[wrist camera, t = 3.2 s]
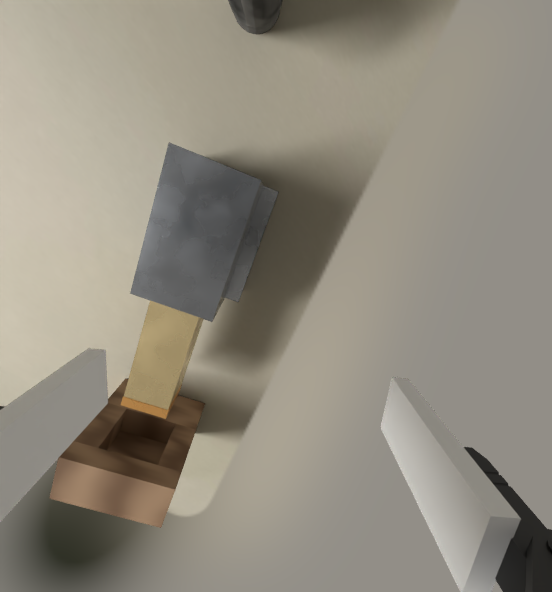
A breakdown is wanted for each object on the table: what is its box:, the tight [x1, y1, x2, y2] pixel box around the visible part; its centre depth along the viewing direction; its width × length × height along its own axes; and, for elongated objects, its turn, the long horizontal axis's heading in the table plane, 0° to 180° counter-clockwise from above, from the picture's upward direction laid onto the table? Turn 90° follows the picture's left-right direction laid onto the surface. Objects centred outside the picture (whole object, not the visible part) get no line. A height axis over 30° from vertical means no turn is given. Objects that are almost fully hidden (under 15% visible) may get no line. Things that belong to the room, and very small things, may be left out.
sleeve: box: [130, 143, 279, 322], centre depth 29 cm, size 10×12×12 cm
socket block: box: [50, 379, 205, 528], centre depth 35 cm, size 11×5×13 cm, turn 69°
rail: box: [121, 300, 203, 419], centre depth 29 cm, size 4×22×4 cm, turn 159°
